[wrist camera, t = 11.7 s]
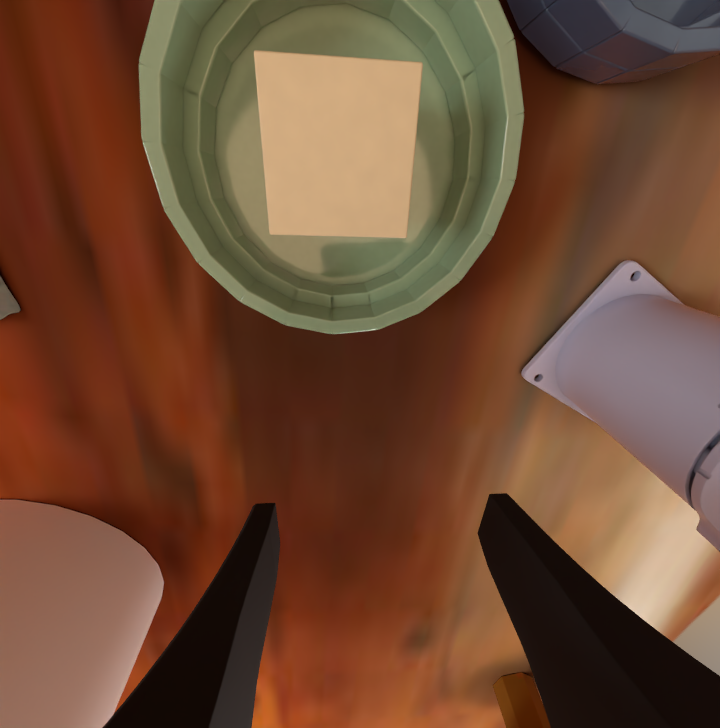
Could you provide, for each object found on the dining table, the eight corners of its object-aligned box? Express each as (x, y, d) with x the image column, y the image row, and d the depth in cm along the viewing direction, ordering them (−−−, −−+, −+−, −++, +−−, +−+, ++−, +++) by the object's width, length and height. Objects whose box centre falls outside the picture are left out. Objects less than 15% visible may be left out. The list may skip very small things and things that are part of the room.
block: (392, 104, 13) (423, 61, 9) (384, 224, 15) (407, 238, 11) (279, 97, 13) (252, 49, 8) (287, 221, 15) (269, 234, 10)
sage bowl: (533, 116, 14) (601, 91, 11) (377, 343, 19) (388, 379, 15) (267, -143, 10) (235, -311, 7) (150, 218, 15) (94, 227, 11)
